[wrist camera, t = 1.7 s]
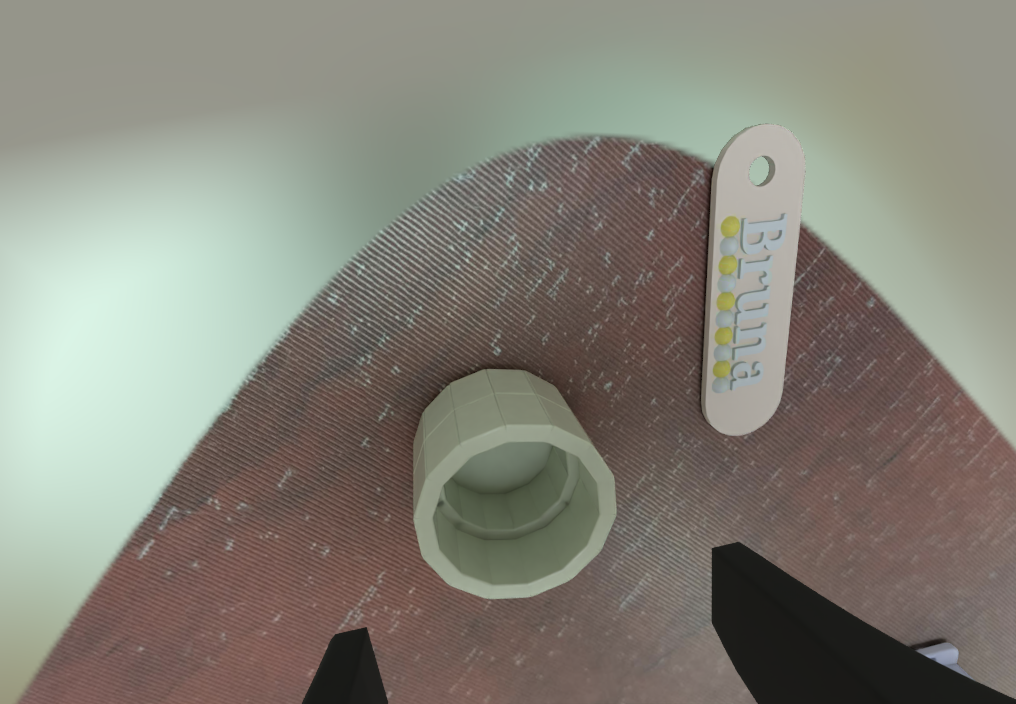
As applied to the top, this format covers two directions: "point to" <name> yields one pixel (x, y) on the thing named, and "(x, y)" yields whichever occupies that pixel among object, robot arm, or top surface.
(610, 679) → the top surface
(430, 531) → the green faceted cup
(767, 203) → the keychain
